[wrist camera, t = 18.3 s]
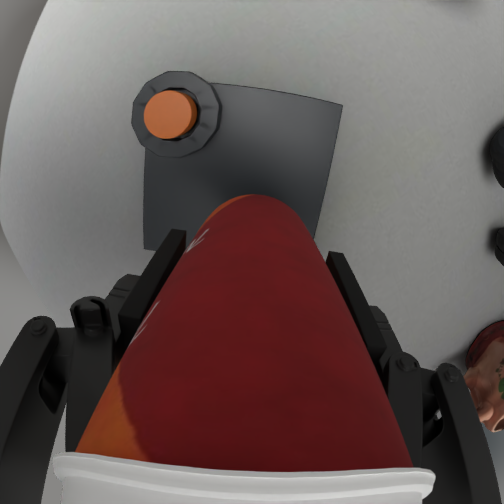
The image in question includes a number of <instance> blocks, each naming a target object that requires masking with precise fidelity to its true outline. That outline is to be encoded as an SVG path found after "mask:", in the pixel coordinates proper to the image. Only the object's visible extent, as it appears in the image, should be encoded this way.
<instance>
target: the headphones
mask: <svg viewBox="0 0 504 504" xmlns="http://www.w3.org/2000/svg"><path fill="white" fill-rule="evenodd" d="M490 154H491V158H492V164H493V172H494V175H495V177H496V179H497V181H498V182H499V184H500V185H501V186H502V187H503V188H504V127H503V128H502V129H501V130H500V131H499V132H497V133H496V135H495V136H494V137H493V139H492V141H491V145H490ZM496 237H497V239H496V242H497V246H496V248H495V256H496V258H497V259H498V261H499V262H500V263H501V264H502V265H503V266H504V228H501V229H499V231H498V234H497V236H496Z"/></svg>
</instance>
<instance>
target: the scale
mask: <svg viewBox="0 0 504 504" xmlns="http://www.w3.org/2000/svg"><path fill="white" fill-rule="evenodd" d="M167 90H172V91H178V92H182V93H185V94H187V95H188V96H190V97H191V98H192V99H193V101H194V102H195V104H196V107H197V119H196V122H195V124H194V125H193V127H192V128H191V129H190V130H189V131H188V132H187V133H185V134H183V135H180V136H178V137H175V138H171V139H162V138H158V137H156V136H154V135H153V134H152V133H150V131H149V130H148V129H147V127H146V125H145V122H144V110H145V107H146V105H147V103H148V102H149V100H150V99H151V98H152V97H153V96H154V95H156V94H157V93H160V92H162V91H167ZM342 107H343V105H340V104H336V103H332V102H328V101H324V100H320V99H315V98H311V97H306V96H301V95H296V94H291V93H286V92H280V91H274V90H268V89H261V88H254V87H247V86H238V85H229V84H219V83H208V82H207V81H205V80H204V79H202V78H200V77H199V76H197V75H196V74H194V73H192V72H183V71H168V72H165V73H163V74H161V75H159V76H157V77H155V78H154V79H152V80H150V81H148V82H147V83H146V84H145V85H144V87H143V88H142V90H141V91H140V92H139V94H138V96H137V97H136V99H135V100H134V102H133V111H132V122H131V124H132V126H133V129H134V131H135V133H136V135H137V138H138V140H139V142H140V143H141V145H143V146H144V147H146V149H145V167H144V200H143V233H144V249H147V250H153V251H157V250H158V248H159V247H160V245H161V244H162V242H163V241H164V239H165V238H166V236H167V235H168V233H169V232H170V230H171V229H179V230H186V231H187V232H186V249H187V247H188V246H189V244H190V243H191V241H192V240H193V238H194V237H195V235H196V234H197V232H198V231H199V229H200V228H201V226H202V225H203V224H204V222H205V221H206V219H207V218H208V217H209V216H210V215H211V213H212V212H213V211H214V210H215V209H216V208H218V207H219V206H220V205H222V204H223V203H225V202H226V201H228V200H230V199H233V198H235V197H238V196H243V195H250V194H258V195H265V196H269V197H273V198H275V199H278V200H280V201H282V202H283V203H285V204H286V205H288V206H289V207H290V208H291V209H293V210H294V211H295V212H296V214H297V215H298V216H299V217H300V219H301V220H302V222H303V223H304V225H305V226H306V228H307V230H308V231H309V233H310V235H311V237H312V238H313V239H314V235H315V231H316V227H317V223H318V219H319V215H320V211H321V207H322V202H323V198H324V194H325V190H326V185H327V181H328V176H329V172H330V167H331V163H332V158H333V153H334V148H335V144H336V139H337V134H338V129H339V123H340V118H341V113H342Z"/></svg>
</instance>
